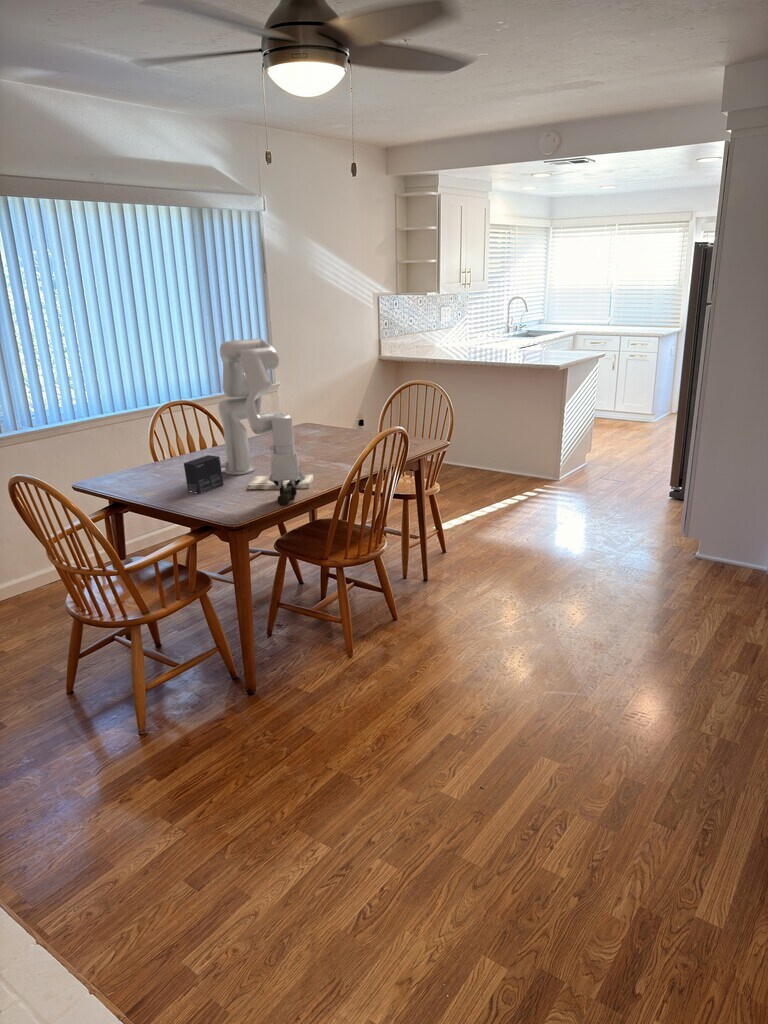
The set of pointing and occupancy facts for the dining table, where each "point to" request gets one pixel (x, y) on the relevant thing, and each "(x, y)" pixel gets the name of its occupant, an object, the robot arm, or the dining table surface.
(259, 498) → the dining table surface
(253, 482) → the birch board
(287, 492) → the hand tool
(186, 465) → the small box
